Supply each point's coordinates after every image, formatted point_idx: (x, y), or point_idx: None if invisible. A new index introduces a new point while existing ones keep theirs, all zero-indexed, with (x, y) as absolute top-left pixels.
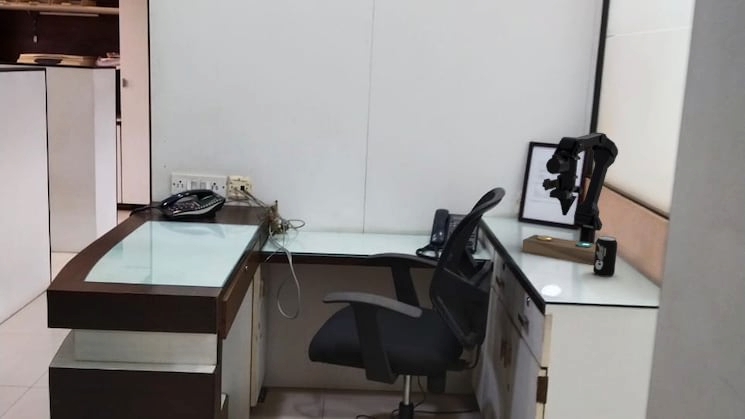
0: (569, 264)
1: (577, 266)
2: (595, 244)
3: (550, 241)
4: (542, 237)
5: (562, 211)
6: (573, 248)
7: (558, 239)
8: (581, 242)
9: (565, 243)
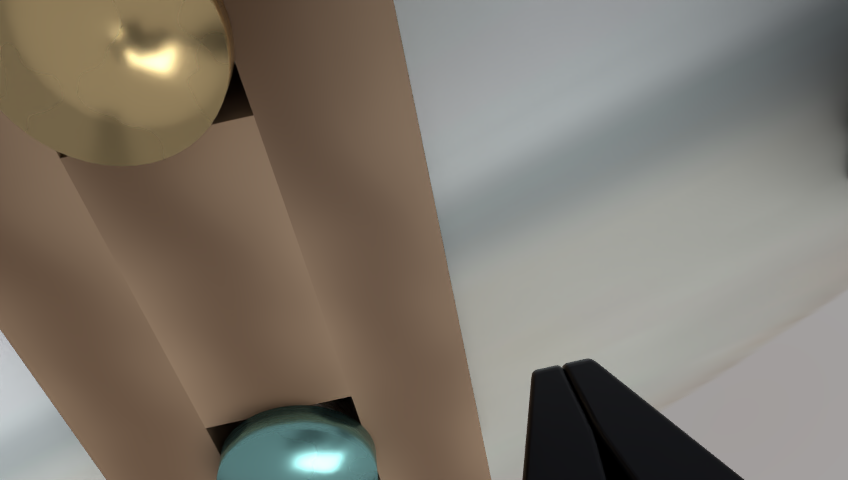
0: (4, 413)
1: (24, 468)
2: (474, 472)
3: None
4: (16, 47)
5: (525, 458)
6: (99, 466)
7: (341, 148)
8: (306, 461)
9: (213, 320)
